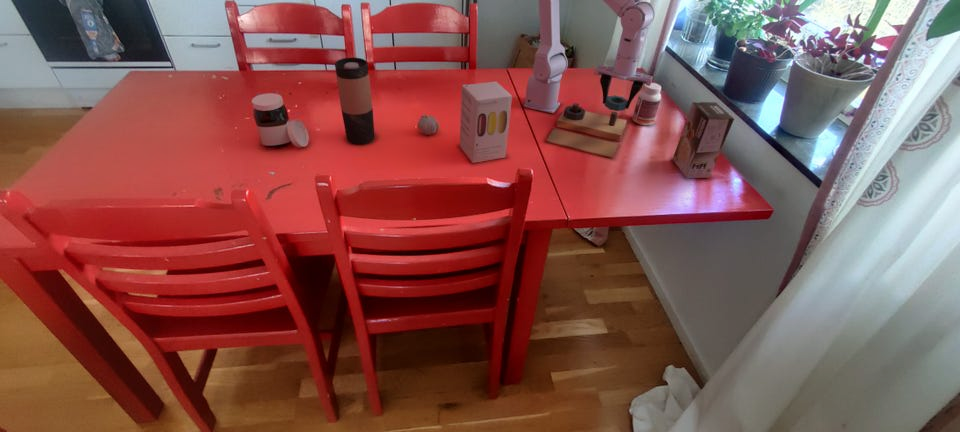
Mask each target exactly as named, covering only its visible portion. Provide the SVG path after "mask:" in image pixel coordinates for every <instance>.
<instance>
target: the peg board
mask: <svg viewBox="0 0 960 432" xmlns="http://www.w3.org/2000/svg"><path fill="white" fill-rule="evenodd" d="M571 106H572V111H571V112H574V113H578V109H579V107H580V103H576V102H573V103H572V105H571ZM618 116H619V113H618V111H611V112H610V115H606V114H601V113H597V112H592V111H588V110H585V115H584V118H583V119H582V120H576V121H575V120H571V119H567V118H566V117H565V116H564V110H563V111H562V113H561V114H560V115H559V117H558V118H557V120H556V124H555V126H556V127H557V128H561V129H566V130H568V131H569V130H570V131H574V132H578V133H582V134H587V135H591V136H595V137H599V138H603V139H607V140H612V141H616V142H620V141H621V138H622V136H623V134H624V132H625V128H626V126H627V123H628V120H627V119H623V118H618Z"/></svg>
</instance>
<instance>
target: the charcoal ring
mask: <svg viewBox="0 0 960 432" xmlns="http://www.w3.org/2000/svg"><path fill="white" fill-rule="evenodd" d="M572 106H573V105H567V106H565V108H564V110H563V111H564V116H565V117H566V118H567V119H571V120H575V121H576V120H582V119H583V118H584V115H585V111H586V110H585V109H584V108H583V107H582V106H579V109H578V113H574V112H571V111H572Z"/></svg>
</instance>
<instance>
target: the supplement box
mask: <svg viewBox="0 0 960 432" xmlns="http://www.w3.org/2000/svg"><path fill="white" fill-rule="evenodd" d="M512 99H513V95H512V94H510V92H509V91H508V90H507V89H506V88H504V87H503V86H502V85H501V84H500V83H499V82H498V81H496V80H494V81H488V82H487V81H486V82H478V83H471V84H470V83H469V84H461V101H460V126H459V127H460V128H459V147H460V149H461V150H462V151H463V153H464V154H465V155H466V157H467V158H468V159H469V160H470V162H471V163H472V164H476V163H481V162H486V161H493V160H498V159H504V158H506V155H507V146H508V138H509V137H508V135H509V129H510V128H509V126H510V118H511V108H512Z"/></svg>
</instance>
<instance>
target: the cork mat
mask: <svg viewBox="0 0 960 432" xmlns="http://www.w3.org/2000/svg"><path fill="white" fill-rule="evenodd" d="M545 142H546V143H549V144H553V145H557V146H560V147H563V148H564V147H565V148H568V149H572V150H577V151H581V152H583V153H584V152H585V153H588V154H592V155H595V156H596V155H597V156H601V157H603V158H608V159H613V158H614V155H615V154H616V153H615V152H616V151H617V148H618V145H619V143H617V142H613V141H609V140H606V139H605V140H604V139H600V138H597V137H593V136H587V135H584V134H580V133H577V132H572V131H569V130H564V129H560V128H553V129H552V131H550V134H549V136H548V137H547V138H546V140H545Z"/></svg>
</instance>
